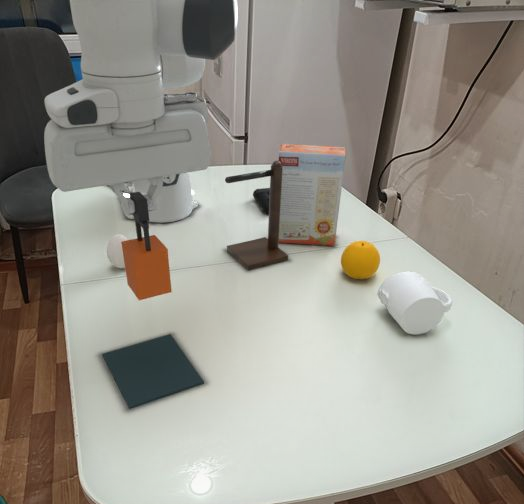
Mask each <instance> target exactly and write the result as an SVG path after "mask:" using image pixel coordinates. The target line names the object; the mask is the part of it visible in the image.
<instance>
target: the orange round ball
mask: <svg viewBox="0 0 524 504" xmlns="http://www.w3.org/2000/svg"><path fill="white" fill-rule="evenodd" d="M380 264H381V256H380V252H379V250H378V248H377V247H376V246H375V245H374V244H373V243H371V242H370V241H367V240H356V241H353V242H351V243H349V244H348V245H347V246H346V247H345V248H344V250H343V252H342V254H341V257H340V265H341V268H342V270H343V272H344V274H345V275H347V276H348V277H349V278H352V279H355V280H367V279H369V278H371V277H373V276H374V275H375V274H376V273H377V272H378V270H379V267H380Z"/></svg>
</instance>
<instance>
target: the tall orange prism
mask: <svg viewBox="0 0 524 504" xmlns="http://www.w3.org/2000/svg"><path fill="white" fill-rule="evenodd" d="M129 195H130V197H131V198H132V199H133V200H134V201H135V203H136V208H135V209H136V211H137V213H136V214H132V215H133V216H134V219H133V220H134V225H135V231H136V232H135V233H136V238H132V239H128V240H127V241H122V242H121V244H122V251H123V257H124V264H125V268H124V270H125V275H126V276H125V277H126V283H127V286H128V287H129V288H130V290H131V291H132V293H133V294H134V296H135V297H136V299H137V300H138V301H143V300H146V299H150V298H155V297H158V296H163V295H166V294H169V293H172V292H173V290H172V280H171V271H170V270H171V269H170V260H169V259H170V258H169V251H168V250H169V249H168V247H167V246H165V244H164V243H163V242H162V241H161V240H160V238H159V237H157V235H156V234H152V235H150V230H149V229H150V224H149V223H150V222H149V212H148V204H147V199H146V198H145V197H144V196H143V195H142V194H141V193H140V192H133V193H129ZM142 232H143V233H142Z"/></svg>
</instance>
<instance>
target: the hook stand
mask: <svg viewBox="0 0 524 504" xmlns="http://www.w3.org/2000/svg"><path fill="white" fill-rule="evenodd" d="M282 171H283V166H282V164H281V162H279V160H274V161H273V162H272V164H271V165H270V169H267V170H262V171H261V170H260V171H255V172H248V173H242V174H237V175H230V176H226V177H225V179H224V181H225V183H226V184H231V183H238V182H245V181H251V180H255V179H256V180H257V179H262V178H268V177H270V178H269V188H270V198H269V214H268V222H267V223H268V225H267V237H266V236H263V237H260V238H255V239H250V240H246V241H243V242H237V243H233V244H229V245H226V251H227V252H228V253H229V254H230V255H231V256H232V257H233V258H234V259H235V260H236V261H237V262H238V263H240V265H241V266H242V267H244V268H245V269H246V270H247V271H251V270H256V269H259V268H264V267H267V266H271V265H276V264H279V263H283V262H287V261H289V254H287V253H286V252H284V251H283V250H282V249H281V248H279V242H278V241H279V223H280V206H281V188H282Z"/></svg>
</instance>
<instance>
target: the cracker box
mask: <svg viewBox="0 0 524 504" xmlns="http://www.w3.org/2000/svg"><path fill="white" fill-rule="evenodd" d="M278 161H279V162H281V164H282V166H283V171H282V188H281V206H280V223H279V241H278V243H284V244H298V245H315V246H328V247H329V246H332V247H334V246H335V244H336V237H337V236H336V235H337V229H338V220H339V214H340V213H339V211H340V203H341V196H342V190H343V189H342V188H343V181H344V171H345V163H346V148H345V146H343V147H341V146H327V145H309V144H308V145H307V144H292V143H291V144H289V143H280V146H279V151H278Z"/></svg>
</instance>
